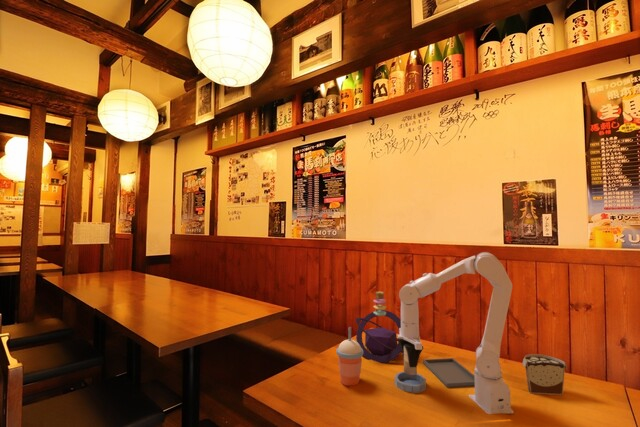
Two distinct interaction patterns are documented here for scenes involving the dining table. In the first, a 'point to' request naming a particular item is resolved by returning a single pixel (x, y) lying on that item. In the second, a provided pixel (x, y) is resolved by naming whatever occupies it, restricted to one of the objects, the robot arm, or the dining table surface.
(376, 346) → the decorative bottle
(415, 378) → the grey round dish
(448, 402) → the dining table surface
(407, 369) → the dowel pin
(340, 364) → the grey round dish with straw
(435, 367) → the tray
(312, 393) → the dining table surface
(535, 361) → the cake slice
